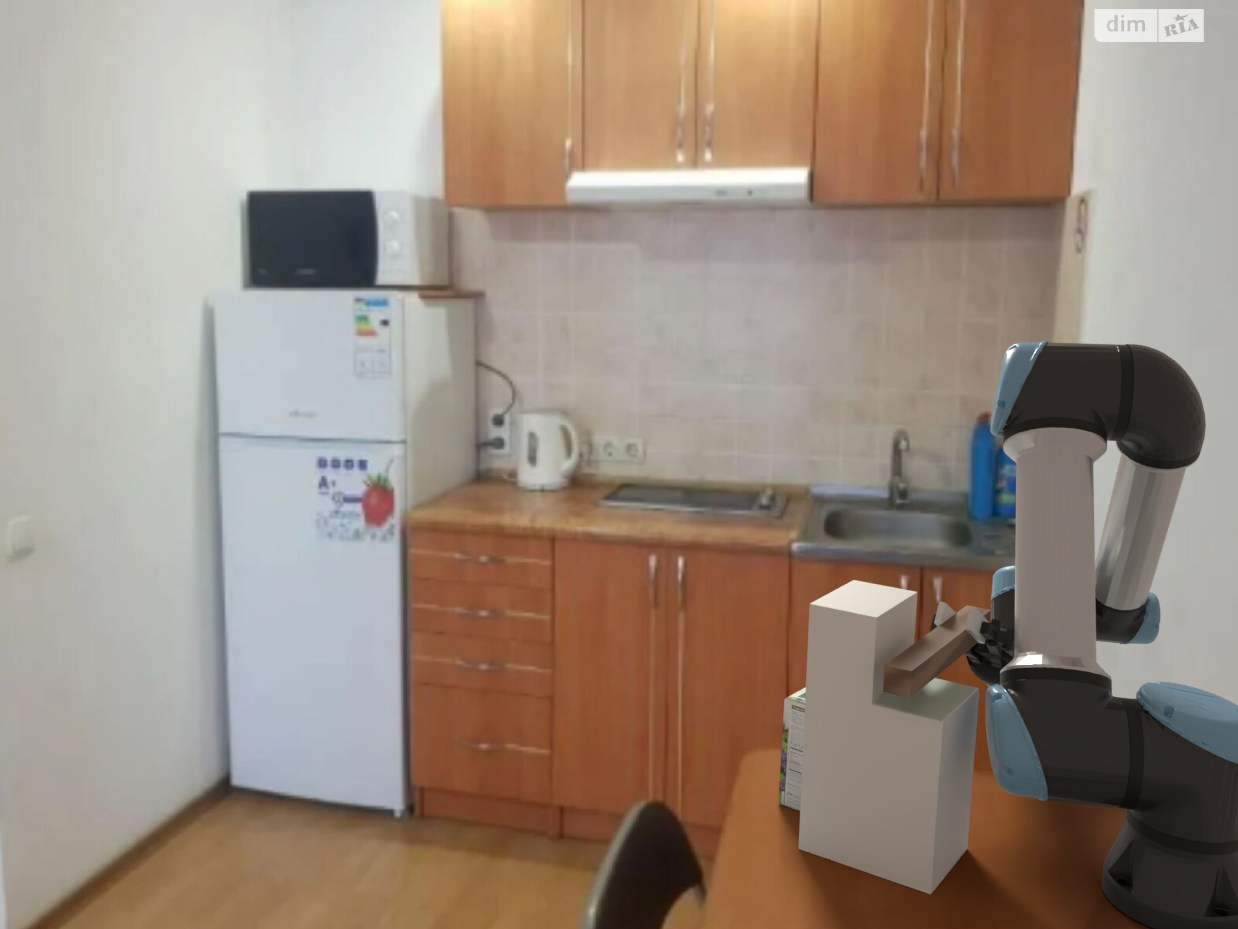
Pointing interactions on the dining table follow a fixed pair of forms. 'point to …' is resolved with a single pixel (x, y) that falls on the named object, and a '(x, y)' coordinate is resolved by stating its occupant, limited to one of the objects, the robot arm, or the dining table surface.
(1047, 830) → the dining table surface
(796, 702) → the syrup box
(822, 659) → the step stand
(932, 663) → the walnut bar
